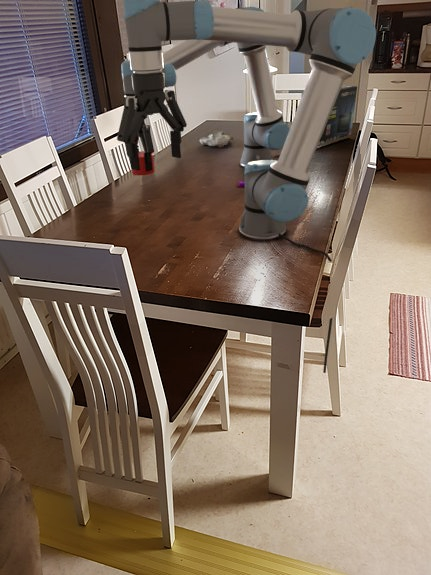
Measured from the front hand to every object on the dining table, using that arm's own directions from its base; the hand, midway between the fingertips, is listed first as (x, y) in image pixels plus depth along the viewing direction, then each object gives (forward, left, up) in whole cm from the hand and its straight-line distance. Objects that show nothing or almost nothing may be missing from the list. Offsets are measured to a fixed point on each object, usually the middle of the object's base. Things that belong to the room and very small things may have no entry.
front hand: (156, 163), depth 117 cm
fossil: (+58, -127, -30) cm, 143 cm away
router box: (+4, -152, -30) cm, 155 cm away
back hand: (+44, -47, -19) cm, 67 cm away
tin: (+44, -47, -21) cm, 68 cm away
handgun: (+6, -67, -30) cm, 74 cm away
